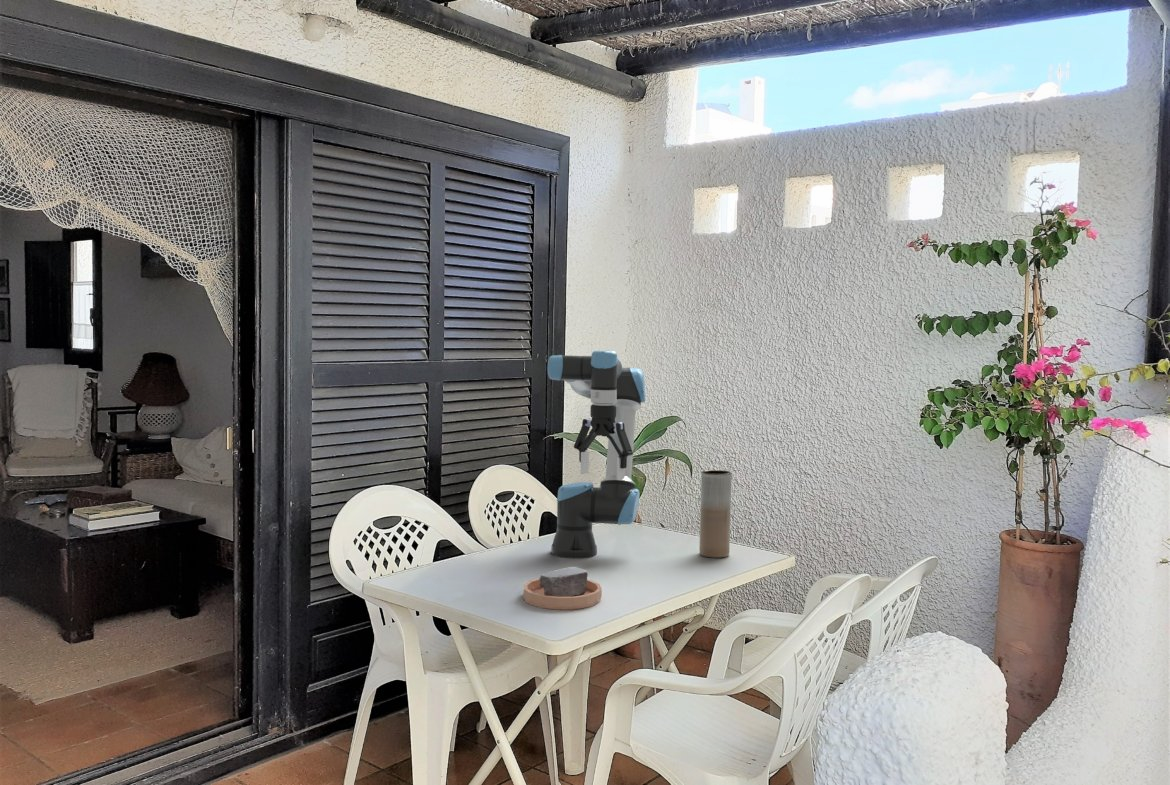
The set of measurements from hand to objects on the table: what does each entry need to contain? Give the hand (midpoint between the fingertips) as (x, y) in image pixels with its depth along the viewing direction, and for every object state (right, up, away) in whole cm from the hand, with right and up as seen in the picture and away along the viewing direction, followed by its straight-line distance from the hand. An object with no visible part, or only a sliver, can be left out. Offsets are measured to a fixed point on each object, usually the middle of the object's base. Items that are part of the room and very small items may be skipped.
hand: (602, 476), depth 259 cm
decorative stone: (-10, -31, -17) cm, 37 cm away
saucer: (-11, -32, -17) cm, 38 cm away
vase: (+38, -30, +37) cm, 61 cm away
